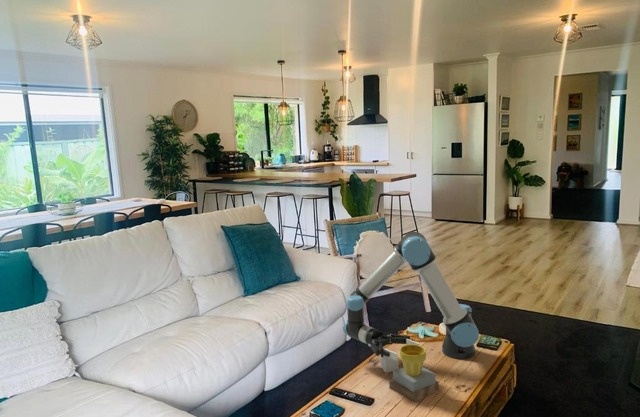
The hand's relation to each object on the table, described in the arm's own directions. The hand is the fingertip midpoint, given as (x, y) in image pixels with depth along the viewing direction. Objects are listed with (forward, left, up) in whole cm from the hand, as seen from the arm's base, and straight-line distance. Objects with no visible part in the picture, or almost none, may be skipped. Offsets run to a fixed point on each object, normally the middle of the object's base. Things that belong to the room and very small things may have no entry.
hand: (408, 351), depth 187 cm
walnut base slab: (-1, +2, -16) cm, 16 cm away
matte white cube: (-6, -17, -16) cm, 24 cm away
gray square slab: (-1, +2, -12) cm, 13 cm away
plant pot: (0, +2, -8) cm, 9 cm away
